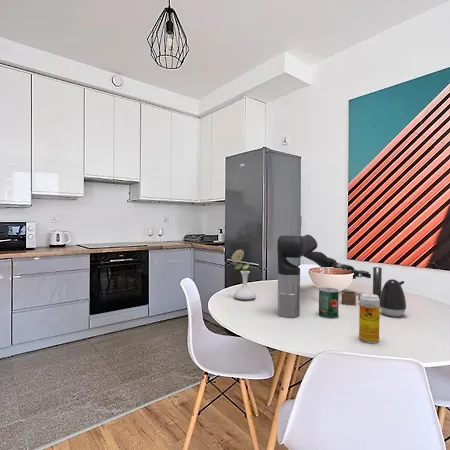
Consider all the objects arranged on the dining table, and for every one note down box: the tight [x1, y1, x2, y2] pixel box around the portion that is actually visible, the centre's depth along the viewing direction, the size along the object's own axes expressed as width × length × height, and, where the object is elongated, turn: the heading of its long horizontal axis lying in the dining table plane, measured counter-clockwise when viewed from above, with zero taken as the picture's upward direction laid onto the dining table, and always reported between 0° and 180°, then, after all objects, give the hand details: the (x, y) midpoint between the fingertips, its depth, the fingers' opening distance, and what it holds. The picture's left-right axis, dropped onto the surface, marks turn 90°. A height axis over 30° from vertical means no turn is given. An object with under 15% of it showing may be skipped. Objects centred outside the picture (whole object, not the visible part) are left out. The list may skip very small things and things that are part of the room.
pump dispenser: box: [380, 278, 407, 318], centre depth 133 cm, size 10×10×15 cm
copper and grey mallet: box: [357, 266, 383, 302], centre depth 148 cm, size 4×16×17 cm, turn 71°
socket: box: [341, 290, 357, 306], centre depth 152 cm, size 7×6×5 cm
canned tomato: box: [318, 287, 340, 320], centre depth 131 cm, size 8×8×11 cm
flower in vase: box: [230, 249, 257, 300], centre depth 158 cm, size 13×11×25 cm
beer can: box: [358, 293, 381, 344], centre depth 104 cm, size 6×6×15 cm
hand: (362, 276), depth 159 cm, fingers open, 8 cm apart
